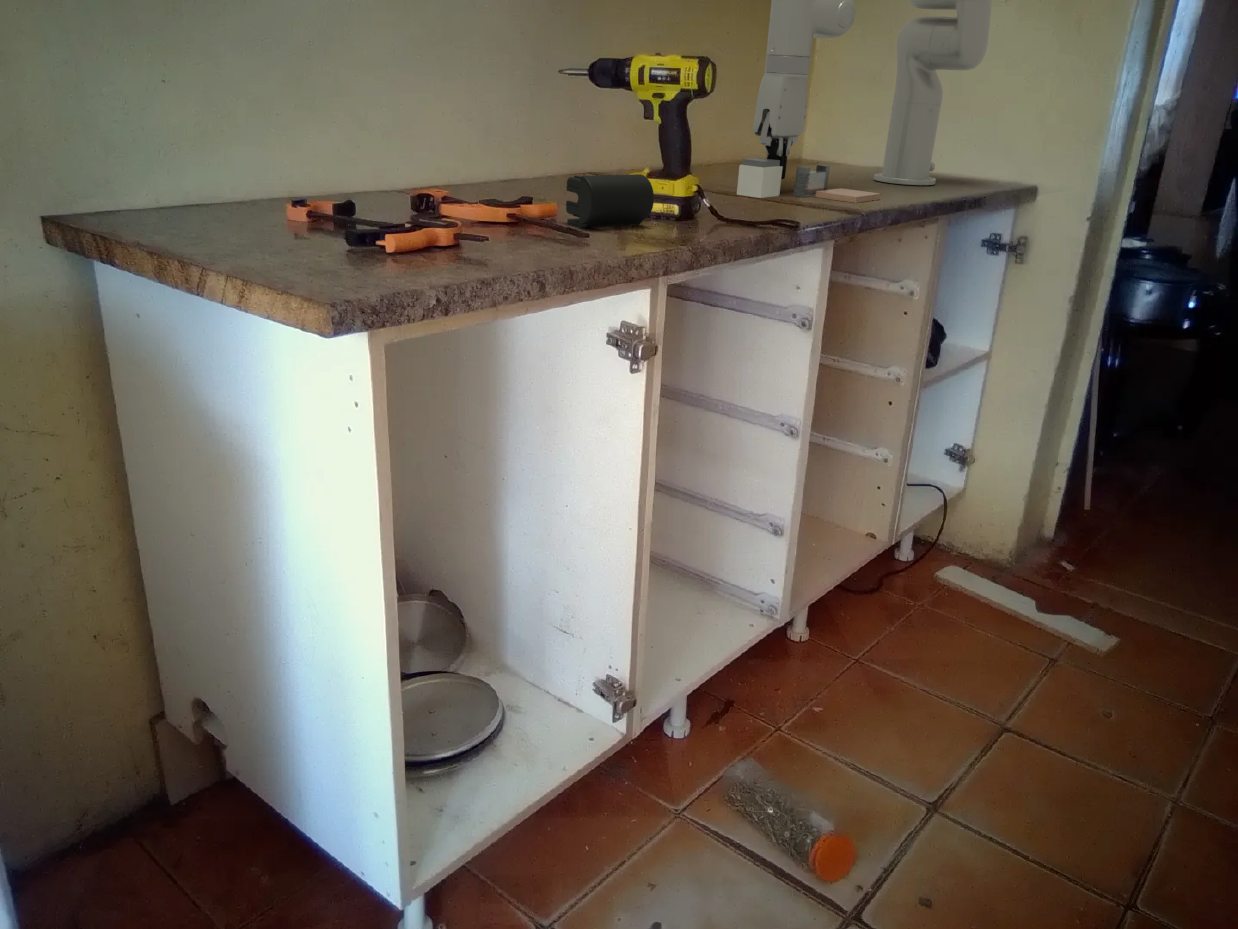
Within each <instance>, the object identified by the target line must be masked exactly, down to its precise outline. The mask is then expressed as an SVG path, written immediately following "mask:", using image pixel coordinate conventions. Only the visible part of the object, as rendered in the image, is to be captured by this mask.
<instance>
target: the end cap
mask: <svg viewBox="0 0 1238 929" xmlns="http://www.w3.org/2000/svg"><path fill="white" fill-rule="evenodd" d="M565 187H566V191H567V192H570V193H573V194H574V193H575V194H576V195H577V201H573V200H566V203H565V206H566V207H565V208H566V209H565V210H566V213H567V214H568V215H572V216H573V217H576V218H567V224H568V225H569V226H574V227H578V228H580V229H591V228H592V229H593V228H609V227H622V226H624V227H625V226H638V225H641V224H642V223H643V222H644V221H645V220H646V219H647V218H649V216H650V215H651V214H652V211H653V209H654V208H653V207H654V203H655V202H654V201H655V194H654V189H653V186H652V183H651V181H650V180H649V178H648V177H647V176H646V175H643V174H641V173H640V174H635V173H634V174H607V175H605V174H599V175H597V174H596V175H594V174H593V175H584V174H583V175H581V176H580V175H574V176H570V177H569V176H568V178H567V180H566V186H565Z"/></svg>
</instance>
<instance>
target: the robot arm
mask: <svg viewBox="0 0 1238 929" xmlns="http://www.w3.org/2000/svg"><path fill="white" fill-rule="evenodd" d="M908 2H909V3H910V5H911V6H912V7H913V8H916V9H921V10H947V11H948V10H955V11H956V16H933V15H932V16H919V17H915V18H912V19H910V20H908V21H907V22H905V24H904V25H902V27H901V29H900V30H899V32H898V34H897V35H898V36H897V39H896V77H895V86H894V95H893V100H892V105H891V112H890V119H889V124H888V132H887V139H886V145H885V152H884V158H883V163H882V164H883V165H882V172H878V173H874V175H873V180H874V181H877V182H880V183H881V182H882V183H889V184H897V185H908V186H934V185H935V184H936V178H935V177H932V176H930V172H933V171H934V170H935V168H936V164H935V163H934V162H933V161H932V158H933V154H934V149H935V148H934V147H935V141H936V135H937V129H938V124H939V118H940V114H941V113H940V112H941V107H942V101H943V87H942V83H941V81H940V80H941V79H939V76H938V73H937V71H939V70H941V71H943V70H944V71H971V70H973V69H976V68H977V67H978V66H979V65H980V64H981V63H982V62H983V60H984V57H985V56H986V53H987V48H988V43H989V36H990V25H991V24H990V23H991V14H992V5H993V3H992V2H993V0H908ZM855 6H856V5H855V3H854V0H771V5H770V14H769V24H768V35H767V44H766V53H765V54H766V55H765V64H764V75H762V78H761V81H760V84H759V89H758V93H757V98H756V99H757V100H756V104H755V110H754V119H753V125H752V126H753V128H752V132H753V134H754V135H755V136H757V137H759V140H758V142H759V144H760V145H762V146H764V147H765V155H766V159H773V160H780V166H783V168H782V176H781V180H785V178H786V171H787V165H788V164H787V163H788V156H789V155H790V151H791V148H792V146H793V145H795V144H797V143H798V141H799V137H800V136H801V135H802V134H803V132H804V128H805V124H806V116H807V103H808V99H807V98H808V78H809V74H810V73H809V72H810V66H811V56H812V48H813V47H812V46H813V39H834V38H838V37H841V36H843V35H845V34H846V33H847V32H848V31H849V30H850V29H851V28H852V26H853V25H854V24H853V23H854V22H855V20H856V19H855V18H856V7H855Z"/></svg>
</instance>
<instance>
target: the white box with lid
mask: <svg viewBox="0 0 1238 929" xmlns="http://www.w3.org/2000/svg"><path fill="white" fill-rule="evenodd" d="M782 168H783V166H780V160H773V159H767V158H766V157H765V158H764V157H755V158H743V160H742V164H739V167H738V178H737V179H738V180H737V186H736V187H737V188H736V195H737V196H745V197H751V198H757V199H758V198H759V199H765V198H774V197H780V192H781V183H782V179H781V176H782Z"/></svg>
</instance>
